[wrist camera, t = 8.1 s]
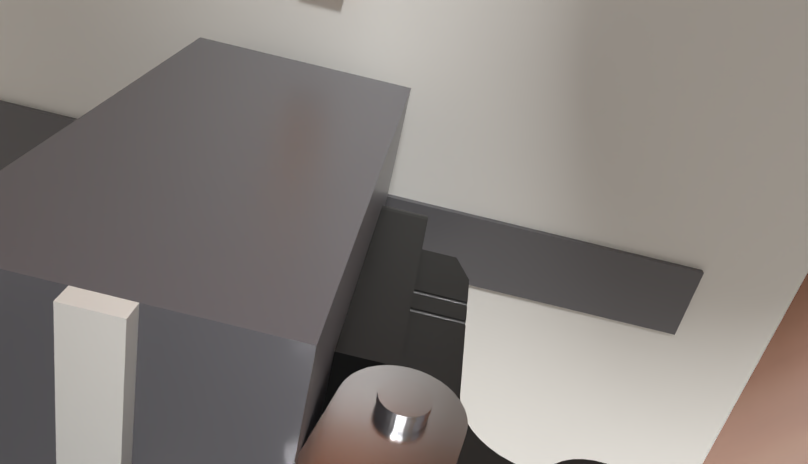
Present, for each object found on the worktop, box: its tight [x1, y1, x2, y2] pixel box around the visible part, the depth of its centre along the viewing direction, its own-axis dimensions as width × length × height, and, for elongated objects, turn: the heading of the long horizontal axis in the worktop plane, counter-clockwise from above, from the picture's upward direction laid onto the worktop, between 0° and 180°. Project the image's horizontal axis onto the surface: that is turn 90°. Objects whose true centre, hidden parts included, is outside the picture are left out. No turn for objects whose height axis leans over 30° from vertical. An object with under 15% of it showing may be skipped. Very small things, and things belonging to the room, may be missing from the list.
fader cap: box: [0, 37, 411, 464], centre depth 9 cm, size 5×3×6 cm, turn 168°
